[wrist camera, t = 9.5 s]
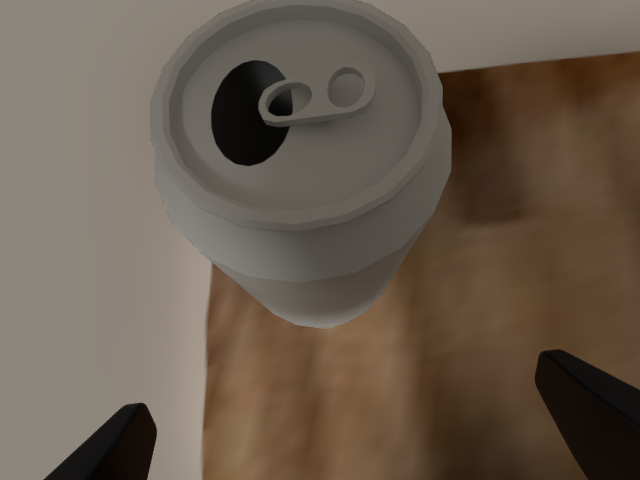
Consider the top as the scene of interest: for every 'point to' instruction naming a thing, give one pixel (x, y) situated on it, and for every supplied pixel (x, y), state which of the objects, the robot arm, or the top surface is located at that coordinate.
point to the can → (302, 151)
